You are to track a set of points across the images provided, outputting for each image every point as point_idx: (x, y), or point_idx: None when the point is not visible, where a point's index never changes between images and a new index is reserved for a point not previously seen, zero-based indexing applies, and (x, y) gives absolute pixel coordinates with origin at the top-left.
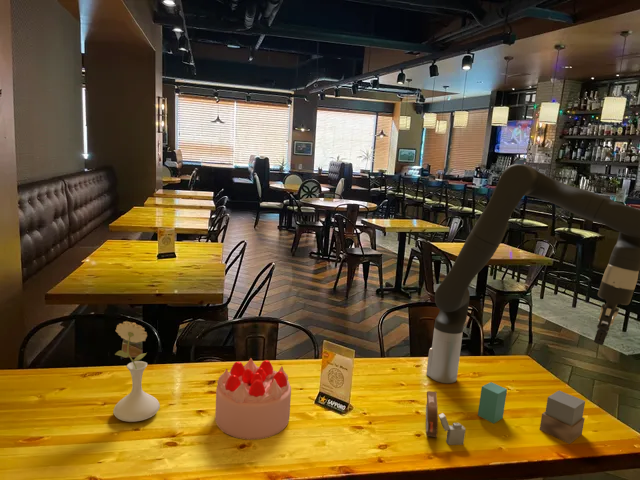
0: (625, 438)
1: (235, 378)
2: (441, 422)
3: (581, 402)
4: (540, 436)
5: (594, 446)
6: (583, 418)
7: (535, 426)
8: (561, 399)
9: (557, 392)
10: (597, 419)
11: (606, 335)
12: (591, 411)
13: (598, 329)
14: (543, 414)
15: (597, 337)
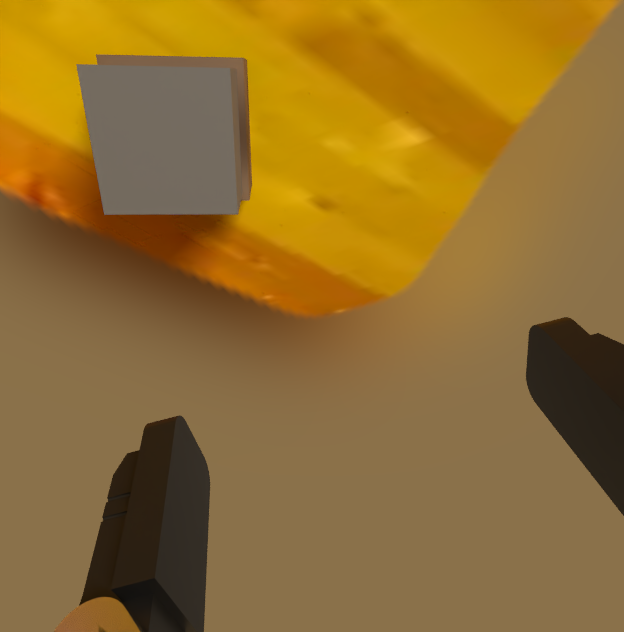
0: (360, 283)
1: None
2: None
3: (203, 209)
4: (74, 86)
5: (211, 242)
6: (243, 197)
7: (126, 31)
8: (130, 129)
9: (194, 74)
10: (422, 178)
11: (543, 409)
12: (475, 137)
13: (127, 592)
14: (97, 62)
15: (110, 507)
